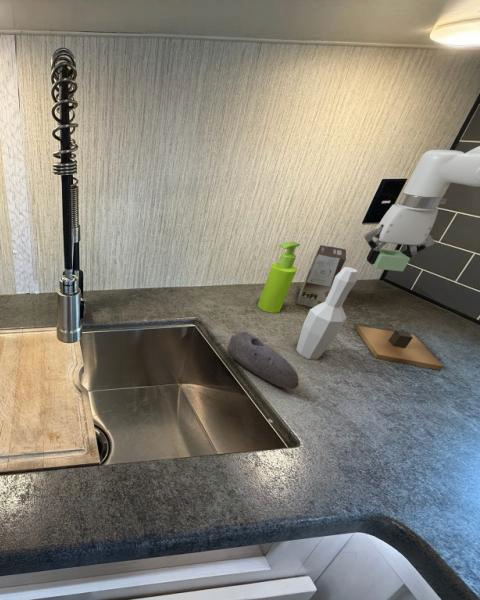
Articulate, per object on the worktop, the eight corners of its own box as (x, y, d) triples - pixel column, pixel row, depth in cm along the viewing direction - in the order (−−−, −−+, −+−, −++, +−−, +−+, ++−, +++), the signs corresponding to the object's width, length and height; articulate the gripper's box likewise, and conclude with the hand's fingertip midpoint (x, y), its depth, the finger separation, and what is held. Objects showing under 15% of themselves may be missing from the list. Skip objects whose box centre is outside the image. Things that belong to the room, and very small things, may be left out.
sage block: (391, 262, 93) (398, 250, 91) (402, 271, 88) (410, 258, 86) (366, 260, 95) (372, 247, 93) (375, 268, 90) (382, 255, 88)
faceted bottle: (306, 342, 77) (346, 261, 66) (330, 359, 72) (378, 274, 61) (286, 347, 76) (323, 265, 64) (309, 364, 71) (354, 278, 59)
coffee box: (321, 310, 90) (347, 259, 82) (296, 303, 93) (318, 253, 85) (323, 297, 96) (346, 249, 88) (299, 291, 99) (319, 244, 91)
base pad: (411, 338, 79) (421, 324, 77) (440, 370, 69) (452, 355, 67) (355, 329, 82) (363, 315, 80) (375, 358, 73) (385, 343, 70)
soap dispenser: (250, 305, 92) (272, 241, 82) (267, 300, 94) (290, 237, 84) (267, 315, 88) (293, 249, 77) (284, 310, 90) (312, 245, 79)
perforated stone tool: (299, 391, 64) (313, 366, 60) (284, 401, 62) (297, 375, 58) (236, 349, 75) (244, 326, 71) (221, 356, 73) (229, 333, 69)
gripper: (451, 200, 83) (414, 262, 92) (372, 196, 88) (345, 255, 97) (470, 207, 77) (429, 273, 86) (384, 202, 81) (354, 265, 91)
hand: (385, 263), depth 91 cm, fingers closed on sage block, 6 cm apart
